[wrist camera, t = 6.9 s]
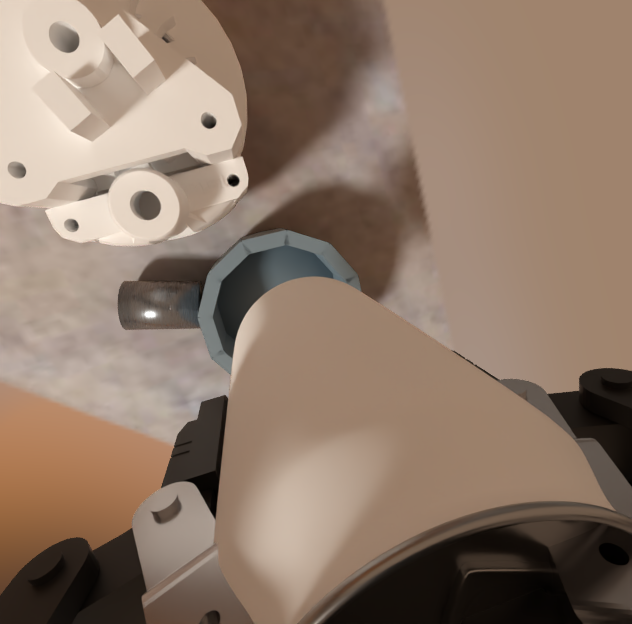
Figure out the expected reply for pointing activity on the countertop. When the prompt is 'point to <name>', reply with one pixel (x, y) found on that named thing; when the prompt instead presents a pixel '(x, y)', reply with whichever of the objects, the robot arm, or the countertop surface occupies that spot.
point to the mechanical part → (120, 117)
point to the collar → (260, 281)
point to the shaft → (159, 304)
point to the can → (384, 471)
